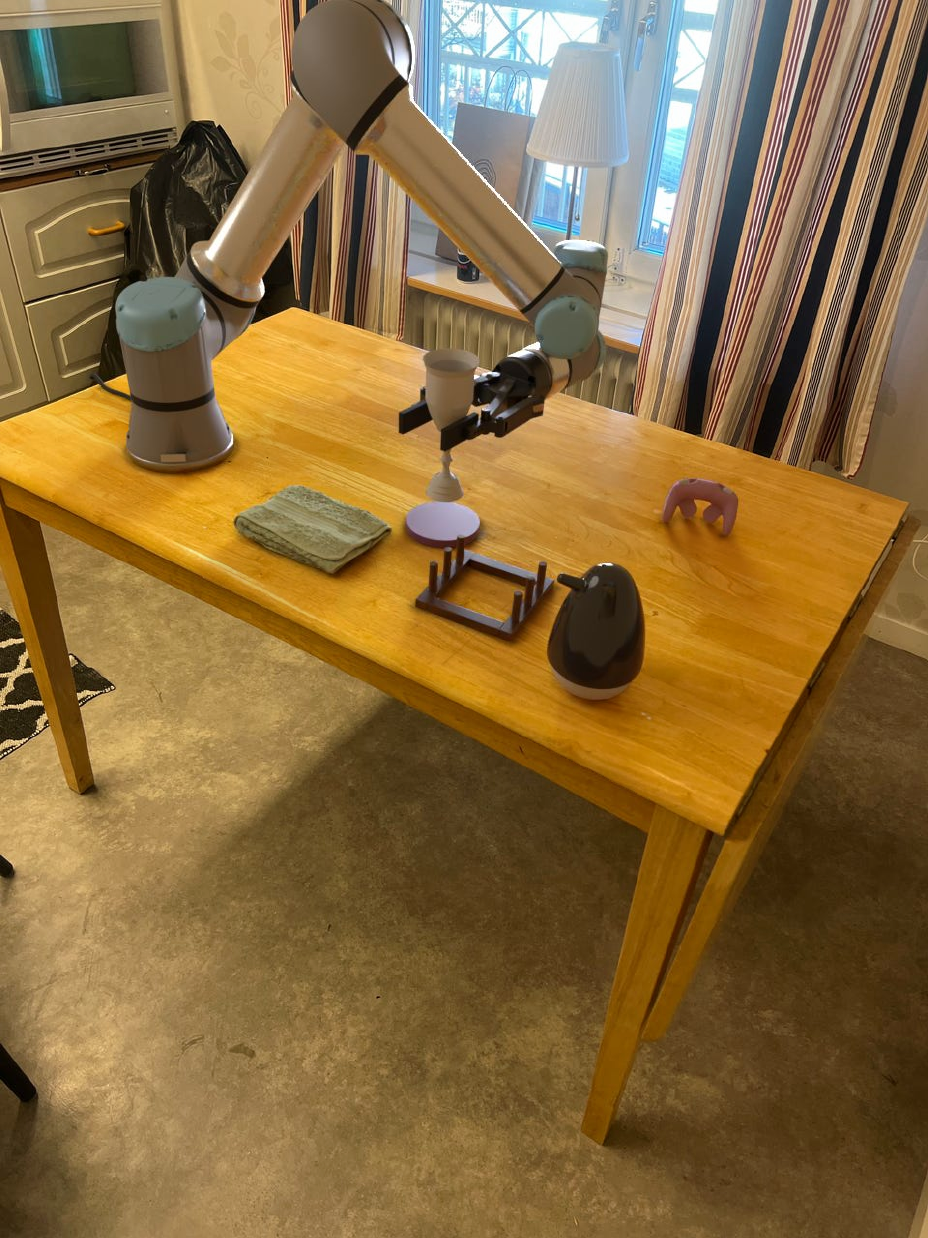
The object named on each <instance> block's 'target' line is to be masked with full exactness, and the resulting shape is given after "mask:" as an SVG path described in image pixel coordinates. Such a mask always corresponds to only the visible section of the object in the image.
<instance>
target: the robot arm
mask: <svg viewBox="0 0 928 1238" xmlns="http://www.w3.org/2000/svg"><path fill="white" fill-rule="evenodd" d="M414 43H415V42H414V39H413V35H412V32H411V30H410V26H409V25H408V23H407V21H406V19H405V18H404V16H403V15H402V14H401V12H400V11H398V9H397V8H396V7H394V6H393V5H392V3H389V2H388V1H386V0H325V1H322V2H320V3H318V4H317V5H315V6H314V7H312V8H311V9H310V10H308V11H307V12H306V14H305V15H304V16H303V17H302V19H301V20H300V22H299V23H298V25H297V27H296V30H295V32H294V35H293V38H292V44H291V66H292V71H291V72H290V74H289V77H288V81H289V86H290V90H291V94H292V95H291V99H290V100H289V102H288V104H287V106H286V107H285V109H284V110H283V112H282V114H281V116H280V118H279V120H278V121H277V123H276V124H275V126H274V127H273V130H272V131H271V133H270V135H269V137H268V138H267V140H266V142H265V144H264V145H263V147H262V149H261V151H260V152H259V154H258V155H257V158H256V159H255V160H254V163H253V164H252V166H251V168H250V169H249V171H248V173H247V175H246V176H245V178H244V179H243V181H242V183H241V185H240V187H239V188H238V190H237V192H236V193H235V195H234V197H233V199H232V201H231V202H230V204H229V205H228V207H227V208H226V211H225V212H224V214H223V216H222V217H221V220H220V221H219V222H218V225H217V226H216V227H215V230H214V231H213V233H212V234H211V237H210V238H209V240H199V241H196V242H194V243H193V244H192V246H191V248H190V250H189V251H188V253H187V255H186V257H185V259H184V260H183V262H182V264H181V265H180V267H179V269H178V271H177V272H176V274H175V275H174V276H158V277H151V278H150V277H149V278H147V279H146V280H145V281H142V280H139V281H136V282H134V283H132V284H129V285H128V286H126V287H125V288H124V289H122V291H121V292H120V293H119V295H118V296H117V299H116V300H115V307H114V308H115V316H116V317H115V318H116V319H115V326H116V331H117V334H118V339H119V342H120V343H119V344H120V347H121V354H122V358H123V363H124V369H125V374H126V379H127V386H128V390H129V393H126V392H123V391H121V390H117V389H114V388H112V387H110V386H108V385H107V384H105V382H104V381H103V380H102V379H101V377H100V376H99V375H98V374H97V373H95V372H92V373H90V375H89V380H95V382H96V383H97V384H98V385H99V386H100V385H101V386H100V387H101V388H102V389H103V390H104V391H106V392H107V393H110V394H112V395H115V396H118V397H121V398H123V399H126V400H127V401H129V402H130V403H131V406H130V413H129V420H128V430H127V432H126V436H125V447H126V451H127V457H128V458H129V459H130V461H131V462H132V463H134V465H136V466H139V467H141V468H143V469H145V470H149V471H154V472H159V473H170V474H171V473H175V474H176V473H188V472H196V471H200V470H204V469H207V468H210V467H213V466H216V465H218V464H220V463H221V462H223V461H225V460H226V459H228V457H230V455H231V454H232V452H233V450H234V447H235V445H234V436H233V433H232V429H231V427H230V425H229V424H228V423H227V420H226V418H225V415H224V413H223V411H222V409H221V406H220V404H219V402H218V400H217V397H216V392H215V382H214V374H213V365H212V363H213V360H214V359H215V358H216V357H218V356H219V354H220V353H222V352H223V351H224V350H225V349H226V348H227V347H228V346H229V345H231V343H232V342H234V341H235V340H236V339H238V337H240V336H242V335H243V334H244V333H245V332H246V331H247V330H248V328H249V326H250V325H251V324H252V321H253V318H254V316H255V313H256V309H257V306H259V304H260V302H261V301H262V298H263V297H264V295H265V292H266V291H265V285H264V282H263V277H264V276H265V274H266V272H267V270H269V268H270V266H271V265H272V263H273V262H274V260H275V258H276V257H277V256H278V253H279V252H280V251H281V249H282V247H283V246H284V244H285V243H286V242H287V239H288V238H289V236H290V235H291V234H292V232H293V230H294V228H295V227H296V225H298V222H299V221H300V219H301V218H302V216H303V215H304V213H305V211H306V210H307V209H308V207H309V205H310V203H311V202H312V200H313V199H314V198H315V196H316V194H317V193H318V191H319V189H320V188H321V186H322V185H323V183H324V182H325V180H326V179H327V177H328V176H329V174H330V172H331V171H332V169H333V168H334V166H335V164H336V163H337V161H338V160H339V159H340V157H341V155H342V154H343V153H344V151H345V149H346V148H347V147H348V148H349V149H350V150H351V151H352V152H353V153H354V154H355V155H359V156H362V155H365V156H366V155H367V156H369V157H371V159H373V161H374V162H375V163H376V164H377V165H378V166H379V167H380V168H381V169H382V170H383V171H384V172H385V173H386V174H387V175H388V177H390V178H391V179H392V180H393V181H394V183H395V184H397V186H398V187H399V188H400V189H401V190H402V191H403V192H404V193H405V194H406V195H407V196H408V197H409V198H410V200H412V201H413V202H414V203H415V205H416V206H417V207H418V208H419V209H420V210H422V211H423V213H425V215H426V216H427V217H428V218H429V219H430V220H431V221H432V222H433V223H434V224H435V226H437V227H438V228H439V230H441V232H443V234H445V236H447V238H448V239H449V240H450V241H451V242H452V243H453V244H454V245H455V246H456V247H457V248H458V249H459V250H460V251H461V253H463V254H464V255H465V256H466V257H467V258H468V259H469V261H470V262H472V264H474V265H475V267H476V268H477V269H478V270H479V271H480V272H481V273H482V274H483V275H484V276H485V277H486V278H487V279H488V281H490V282H491V284H493V285H494V287H496V288H497V290H498V291H499V292H500V293H501V294H502V295H503V296H504V297H505V298H506V299H507V300H508V301H509V302H510V303H511V304H512V305H513V307H515V308H516V310H518V312H520V314H521V315H523V317H524V318H525V319H526V320H527V321H528V322H529V324H530V325H532V326H533V327H534V334H535V338H536V339H535V340H536V341H537V342H535V343H532V344H531V345H528V346H526V347H523V348H522V349H520V350H518V351H516V352H514V353H512V354H510V355H507V356H505V357H503V358H502V359H500V360H499V361H498V363H496V365H495V367H494V368H493V369H492V370H491V371H490V372H486V373H485V372H483V373H481V374H480V375H479V376H478V375H474V390H473V402H472V404H471V406H473V407H475V408H478V407H481V410H480V414H479V413H478V412H475V411H474V412H471V413H468V414H467V416H465V417H464V418H462V419H460V420H458V421H456V422H454V423H452V424H450V425H448V426H446V427H444V428H442V429H441V432H440V444H439V450H440V451H442V452H443V451H444V452H446V451H447V450H449V449H451V448H452V449H453V448H455V447H456V446H459V445H460V444H462V443H464V442H466V441H472V440H474V439H476V438H478V437H480V436H482V435H483V436H486V435H489V434H490V433H492V434H493V435H494V437H495V438H497V439H502V438H505V437H506V436H507V435H509V434H510V433H512V432H513V431H515V430H517V429H518V428H519V427H521V426H522V425H524V424H526V423H528V422H529V421H530V420H533V419H535V418H539V417H543V416H544V411H545V403H546V402H545V401H546V400H548V399H550V398H551V397H553V396H555V395H557V394H559V393H561V392H562V391H565V390H566V389H569V388H571V387H572V386H574V385H576V384H578V383H580V382H583V381H585V380H587V379H588V378H590V377H591V376H592V374H594V373H595V372H597V371H598V370H599V369H600V368H601V367H602V366H603V364H604V362H605V360H606V357H607V351H608V350H607V345H606V341H605V337H604V334H603V333H602V332H601V331H600V330H599V326H600V315H601V310H602V309H601V308H602V303H603V297H604V291H605V285H606V278H607V274H608V260H609V252H608V250H607V248H606V247H605V246H603V245H602V244H600V243H598V242H594V241H589V240H584V239H583V240H582V239H569V240H568V239H567V240H563V241H560V242H558V243H557V244H555V246H554V248H553V251H551V250H550V249H549V248H548V247H547V246H546V245H545V243H543V241H542V240H540V238H539V237H538V236H537V235H536V234H535V233H534V232H533V231H532V230H531V229H530V228H529V226H527V224H526V223H525V222H524V221H523V220H522V219H521V217H520V216H518V214H517V213H516V212H515V211H514V210H513V209H512V208H511V207H510V206H509V204H507V202H506V201H505V200H504V199H503V198H502V197H501V196H500V194H499V193H497V192H496V190H495V189H494V188H493V187H492V186H491V185H490V184H489V182H487V180H486V179H485V178H484V177H483V176H482V175H481V174H480V173H479V172H478V171H477V170H476V169H475V167H474V165H472V164H471V163H470V162H469V161H468V159H466V158H465V156H464V155H463V154H462V153H461V152H460V151H459V150H458V149H457V148H456V146H454V145H453V143H452V142H451V141H450V140H449V139H448V137H447V136H445V135H444V134H443V132H442V131H441V130H440V129H439V128H438V127H437V126H436V125H435V124H434V122H433V121H432V120H431V119H430V118H429V117H428V116H427V115H426V114H425V113H424V112H423V110H421V108H420V107H419V106H418V105H417V104H416V103H415V101H414V99H413V98H414V97H413V86H412V85H411V84H410V83H409V82H410V79H411V76H412V74H413V72H414V71H413V70H414V67H415V57H416V55H415V53H416V52H415V44H414ZM419 392H420V393H419V400H418V401H416V402H414V403H412V404H411V406H410V407H409V406H408V407H406V408H405V409H403V410H401V411H399V412H398V434H400V435H403V436H404V435H406V434H408V433H409V432H411V431H413V430H416V429H418V428H419V427H422V426H423V425H426V424H427V423H429V422H432V421H433V418H432V416H431V414H430V412H429V408H428V405H427V402H426V398H425V397H426V385H424V386H421V387H420V389H419ZM485 405H487V406H486V408H483V407H482V406H485ZM452 449H451V450H452Z"/></svg>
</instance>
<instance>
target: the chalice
mask: <svg viewBox="0 0 928 1238" xmlns="http://www.w3.org/2000/svg"><path fill="white" fill-rule="evenodd" d="M422 362H423V364H424V367H425V386H426V397H425V398H426V402H427V405H428V408H429V412H430V414H431V416H432V418H433V420H432V421H433V422H434V423H433V424H434V425H435V427H436V430H437V431H438V432H440V433H441V429H442V428H444V427H446V426H448V425H450V424H452V423H454V422H456V421H458V420H460V419H462V418H464V417H465V416H467V415H469V411H470V408H471V406H472V405H471V404H472V402H473V390H474V376H475V373H476V370H477V368H478V367H479V365H480V358H479V357H478V355H477V354H474V353H473V352H471V351H468V350H466V349H460V348H449V347H447V348H437V349H433V350H430V351H428V352H426V353H425V354H424V355H423V356H422ZM452 449H453V448H451V449H449V450H447V451H446V452H444V451H442V455H441V456H440V457H439V461H440V462H441V464H442V469H441V471H439V472H437V473H435V474H434V475H433V476H432V477H431V479H430V481H429V483H428V487H426V489H425V495H426V496H427V497H428V498H429V499H430V500H433V501H434V502H435V501H439V502H453V503H454V502H457V501H459V500H461V499H462V498H463V497H464V495H465V491H464V489H463V486H462V484H461V482H460V478H459V477H458V476H457V475H456V474H455V473H454V472H452V470H451V468H450V466H451V463H452V462H453V461H454V457H452V455H451V451H452Z"/></svg>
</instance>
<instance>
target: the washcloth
mask: <svg viewBox="0 0 928 1238" xmlns="http://www.w3.org/2000/svg"><path fill="white" fill-rule="evenodd" d="M232 523H233V527H234V528H235V530H236V531H237V533H238V534H239V535H241V536H243V537H245V538H247V539H249V540H253V541H255V542H256V543H258V544H259V545H262V546H263V547H264V548H265V549H266V550H270V551H272V552H274V553H277V554H279V555H282V556H285V557H287V558H290V559H292V560H295V561H297V562H299V563H302V564H305V565H308V566H310V567H313V568H316V569H320V570H322V572H326V573H327V574H331V575H335V574H336V572H337V571H339V570H340V569H342V567H344V566H346V565H347V564H348V563H349V562H350V561H352V560H353V559H355V558H357V557H358V556H362V555H363V553H365V552H367V551H368V550H370V549H371V548H372V547H374V546H375V545H376V544H377V543H378V542H380V541H381V540H382V539H384V538H385V537H386V536H389V535H390V534H391V533H392V531H393V530H392V527H391V526H390V525H389V524H388V522H387V521H386V520H385V521H384V520H383V519H381V518H379V517H378V516H377V515H375V514H374V513H372V512H371V511H369V510H366V509H362V508H360V507H357V506H353V505H351V504H349V503H347V502H343V501H342V500H338V499H335V498H332V497H331V496H329V495H326V494H325V493H323V492H322V491H318V490H316V489H312V488H309V487H307V486H305V485H301V484H300V485H298V484H291V485H289V486H287V487H285V488H283V489H282V490H280V491H279V492H277V493H275V494H274V495H272V496H270V497H269V498H268V500H267V501H265V502H263V503H260V504H255V505H253V506H251V507H249V508H247V509H246V510H242V511H241V512H239V513H237V515H236V516H235V517H234V518H233V522H232Z"/></svg>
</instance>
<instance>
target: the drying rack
mask: <svg viewBox="0 0 928 1238" xmlns="http://www.w3.org/2000/svg"><path fill="white" fill-rule="evenodd" d="M465 547H466V545H465V535H464V534H459V535H458V536H457V547H456V550H455V551H456V552H455V558H454V559H453V560H452V557H453V548H450V547H446V548H443V555H442V556H443V557H442V572H441V573H440V574H439V573H438V572H439V563H438V561H436V560H431V561H430V562H429V566H428V567H429V568H428V572H429V573H428V586H427V587H426V588H425V589H424V590H423V591H422V592H421V593H420V594H419V595H418V596H417V597H416V598H415V603H414V606H415V608H417V609H420V610H423V611H424V612H428V613H430V614H433V615H436V616H439V617H442V618H444V619H447V620H449V621H451V622H452V621H453V622H455V623H458V624H461V625H463V626H466V627H468V628H470V629H471V628H472V629H474V630H476V631H479V632H482V633H484V634H487V635H490V636H492V637H495V638H498V639H501V640H504V641H506V642H509V643H511V642H512V641H513V639H514V638H515V637H516V636H517V635H518V633H519V632H520V631H521V629H522V628H523V627H524V625H525V624H526V623H527V622H528V621H529V619H530V618H531V617H532V615H533V614H534V612H535V611H536V610H537V609H538V608H539V607H540V605H541V604H542V603H543V601H544V600H545V598H546V597H547V596H548V595H549V593H550V592H551V591H552V590H553V588H554V585H555V579H553V578H550V577H547V576H546V575H547V568H548V563H547V561H545V560H540V561H539V562H538V567H537V573H536V572H532V571H529V570H526V569H523V568H520V567H518V566H515V565H511V564H509V563H506V562H503V561H500V560H497V559H495V558H491V557H488V556H484V555H483V554H480V553H476V552H473V551H471V550H467V549H465ZM469 567H470V568H472V569H475V570H478V571H481V572H484V573H487V574H489V575H493V576H495V577H498V578H501V579H505V580H507V581H509V582H513V583H516V584H519V585H522V586H524V587H525V588H524V592H523V591H522V590H518V589H517V590H515V591H514V592H513V599H512V609H511V614H510V616H509V617H508V618H507V620H506V621H502V620H499V619H496V618H493V617H490V616H488V615H485V614H482V613H479V612H476V611H475V610H472V609H468V608H466V607H463V606H460V605H457V604H455V603H452V602H448V600H444V599H441V597H442V596H443V595H444V594H445V592H446V591H448V590H449V588H450V587H451V586H452V585H453V584H454V583H455V582H456V581H457V580H458V579H459V578H460V577H461V576H462V575H463V574H464V573H465V572H466V571H467V570H468V568H469Z"/></svg>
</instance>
